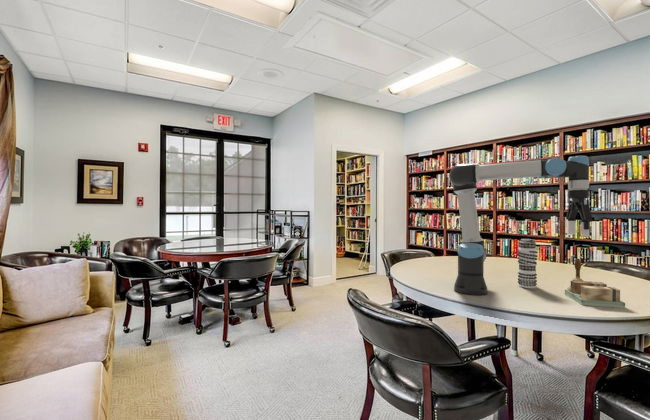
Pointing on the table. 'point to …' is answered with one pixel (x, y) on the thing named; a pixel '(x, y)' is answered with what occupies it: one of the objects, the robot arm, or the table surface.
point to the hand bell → (577, 272)
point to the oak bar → (600, 293)
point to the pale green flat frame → (594, 301)
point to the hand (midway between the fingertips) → (578, 235)
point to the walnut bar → (577, 285)
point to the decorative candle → (527, 263)
